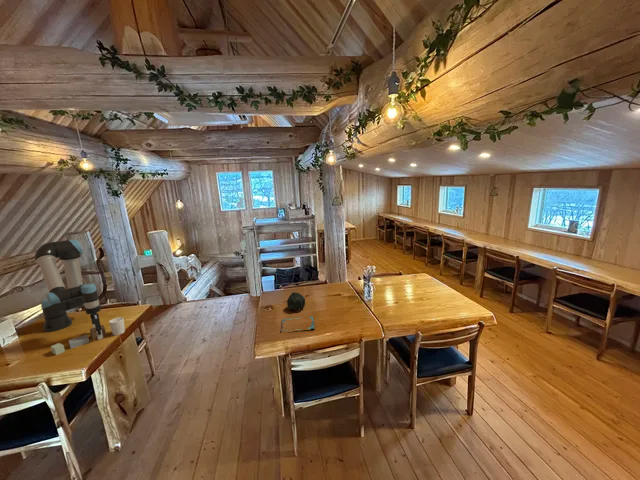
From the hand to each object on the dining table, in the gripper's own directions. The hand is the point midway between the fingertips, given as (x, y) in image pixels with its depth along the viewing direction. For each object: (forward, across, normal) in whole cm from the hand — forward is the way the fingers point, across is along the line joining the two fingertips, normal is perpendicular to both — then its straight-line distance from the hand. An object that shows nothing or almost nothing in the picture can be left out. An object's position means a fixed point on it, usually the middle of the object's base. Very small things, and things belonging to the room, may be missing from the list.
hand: (98, 335), depth 177 cm
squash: (+1, +81, +112) cm, 138 cm away
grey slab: (+1, +2, -10) cm, 10 cm away
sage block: (0, +4, -20) cm, 20 cm away
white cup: (0, +7, +10) cm, 12 cm away
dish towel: (+1, +101, +94) cm, 138 cm away
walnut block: (0, 0, 0) cm, 0 cm away
